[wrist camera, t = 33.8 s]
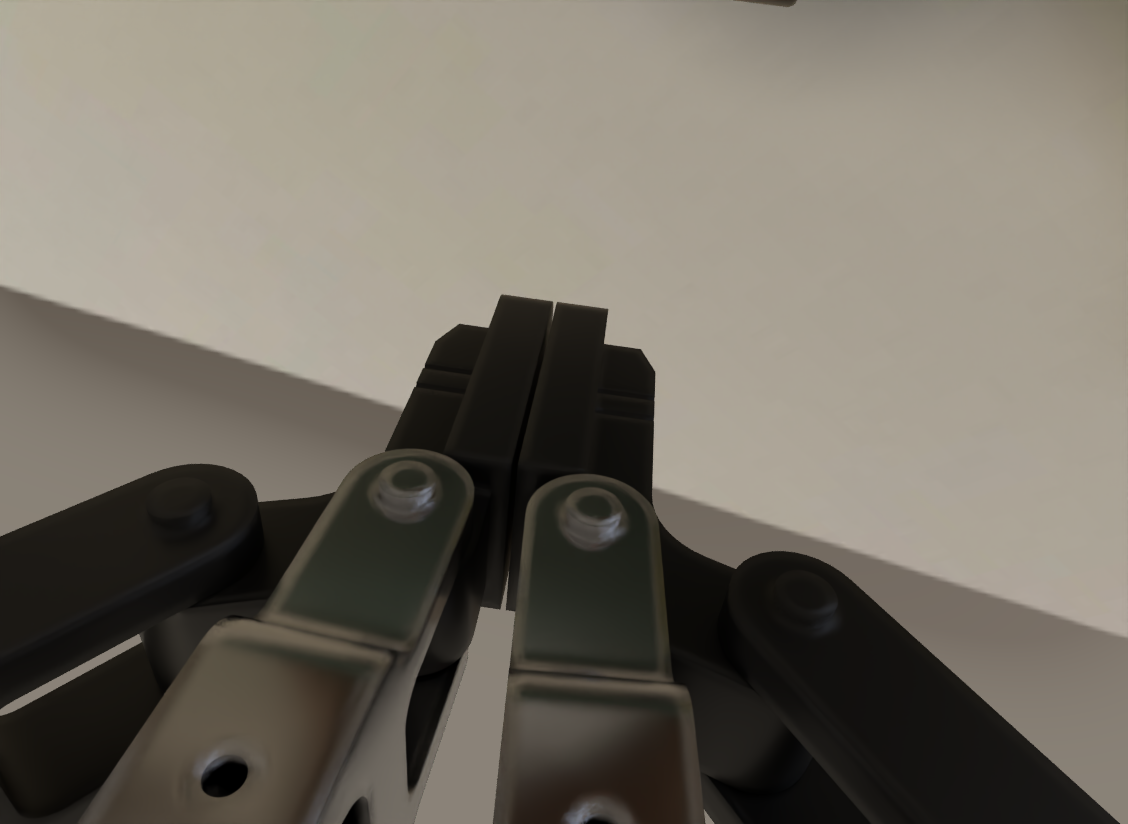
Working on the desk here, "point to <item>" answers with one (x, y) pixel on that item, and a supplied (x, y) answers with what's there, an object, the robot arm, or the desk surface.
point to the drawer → (773, 2)
